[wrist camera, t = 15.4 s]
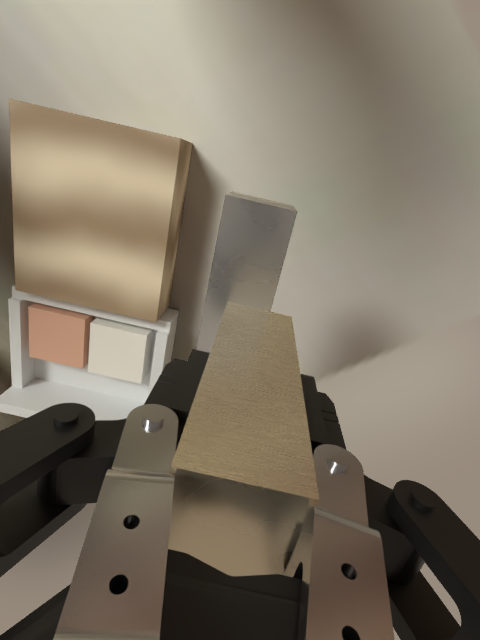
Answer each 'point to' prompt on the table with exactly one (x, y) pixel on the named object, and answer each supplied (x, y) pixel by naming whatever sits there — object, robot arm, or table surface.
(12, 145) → the tan flat block
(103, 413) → the box
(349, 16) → the table surface
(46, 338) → the terracotta tile
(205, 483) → the scraper
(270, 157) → the table surface
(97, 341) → the offwhite tile
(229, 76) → the table surface
